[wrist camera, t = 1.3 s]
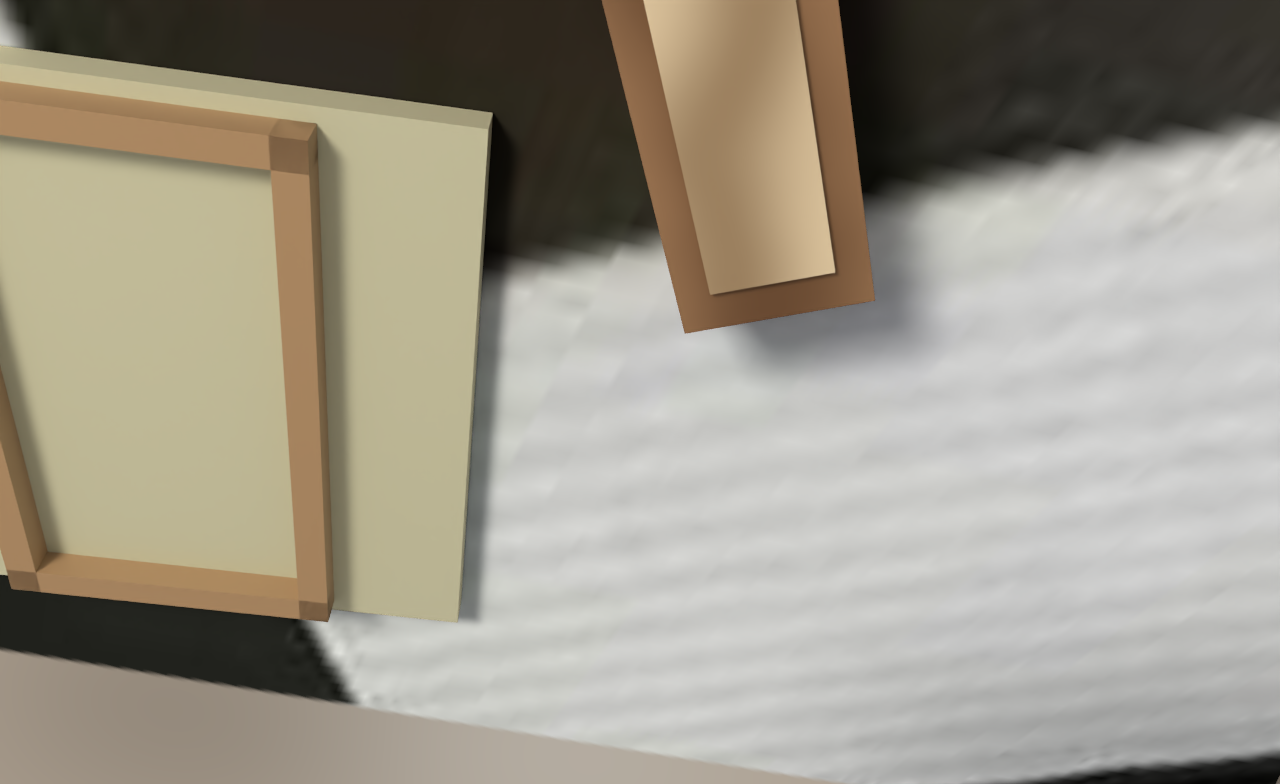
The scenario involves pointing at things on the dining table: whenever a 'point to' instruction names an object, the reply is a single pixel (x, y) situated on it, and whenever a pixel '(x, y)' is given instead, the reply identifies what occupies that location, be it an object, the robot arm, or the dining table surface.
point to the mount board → (235, 340)
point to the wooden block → (747, 153)
